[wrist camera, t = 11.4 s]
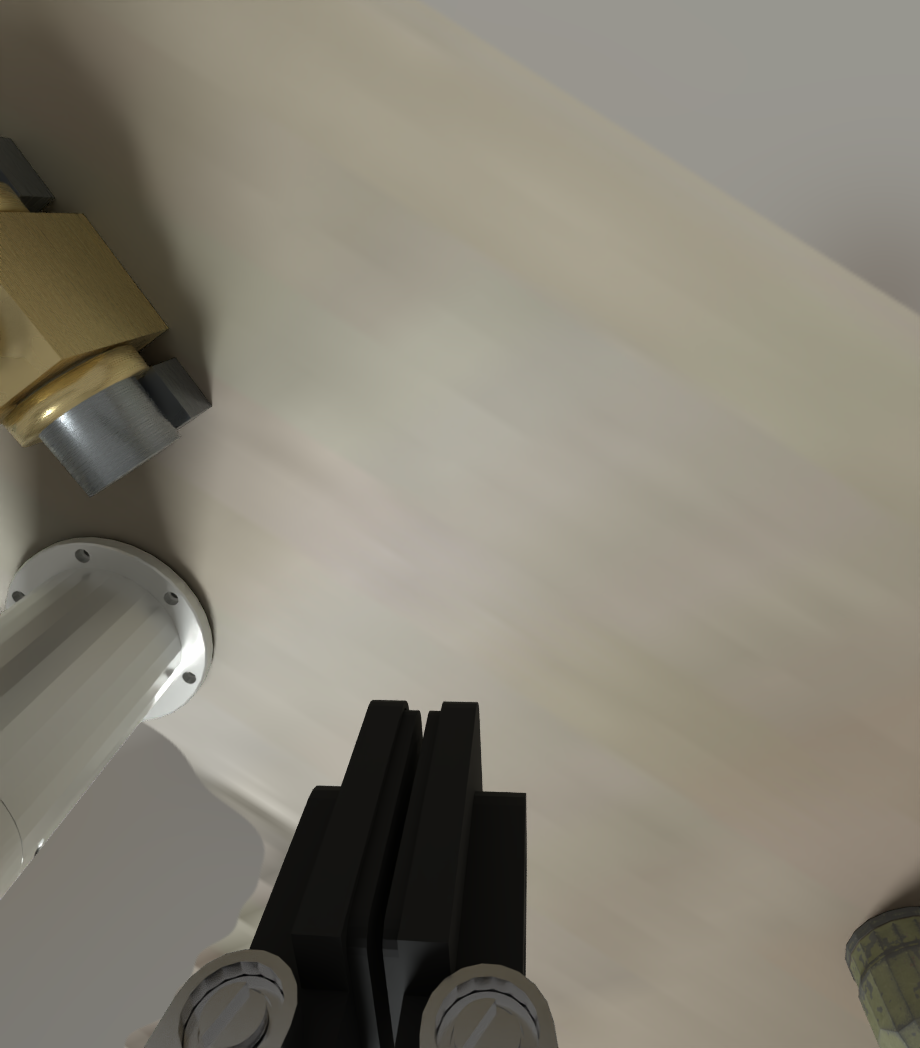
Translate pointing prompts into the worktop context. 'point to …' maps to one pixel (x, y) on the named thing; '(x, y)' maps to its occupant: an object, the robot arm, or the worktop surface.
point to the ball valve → (78, 342)
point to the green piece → (889, 975)
